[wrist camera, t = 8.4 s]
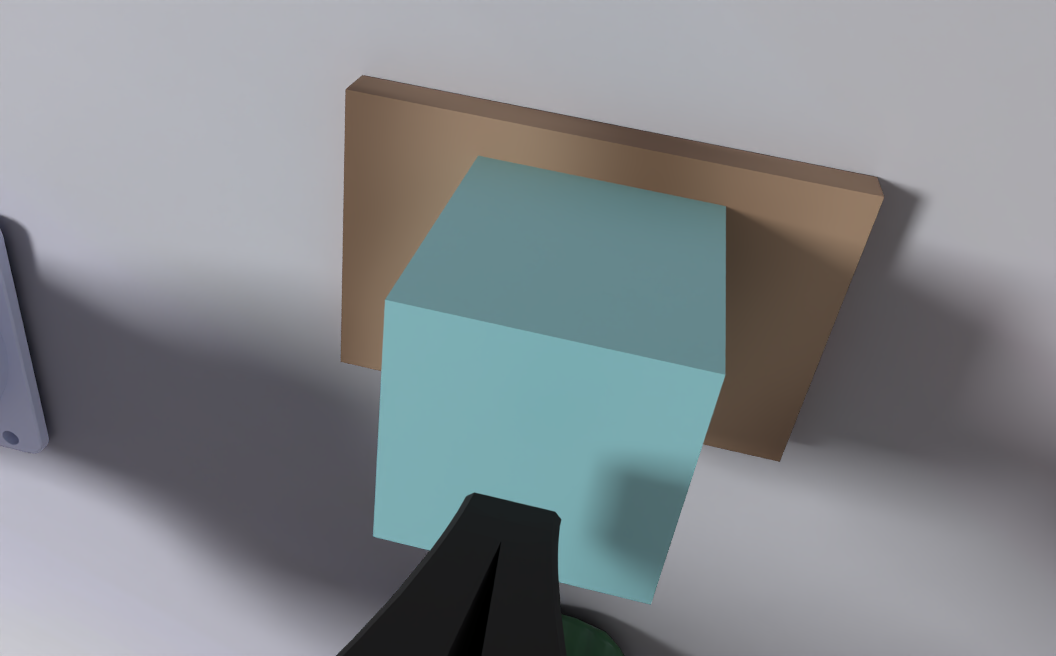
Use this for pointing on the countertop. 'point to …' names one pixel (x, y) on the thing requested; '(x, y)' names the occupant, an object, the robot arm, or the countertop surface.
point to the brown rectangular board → (632, 160)
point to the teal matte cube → (555, 366)
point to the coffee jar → (587, 639)
